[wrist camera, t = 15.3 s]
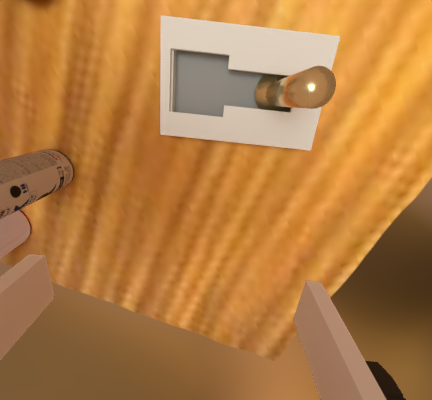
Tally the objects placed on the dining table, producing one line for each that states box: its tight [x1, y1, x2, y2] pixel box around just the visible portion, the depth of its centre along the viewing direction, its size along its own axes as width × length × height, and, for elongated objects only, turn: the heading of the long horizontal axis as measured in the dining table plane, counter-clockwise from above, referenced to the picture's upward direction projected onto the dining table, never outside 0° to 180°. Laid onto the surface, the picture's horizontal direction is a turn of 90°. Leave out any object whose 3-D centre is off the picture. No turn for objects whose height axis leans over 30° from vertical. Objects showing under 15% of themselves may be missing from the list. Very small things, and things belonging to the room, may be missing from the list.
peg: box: [254, 66, 336, 112], centre depth 26 cm, size 6×6×16 cm
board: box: [160, 15, 340, 150], centre depth 32 cm, size 14×22×4 cm, turn 84°
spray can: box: [0, 150, 74, 219], centre depth 30 cm, size 7×7×20 cm
